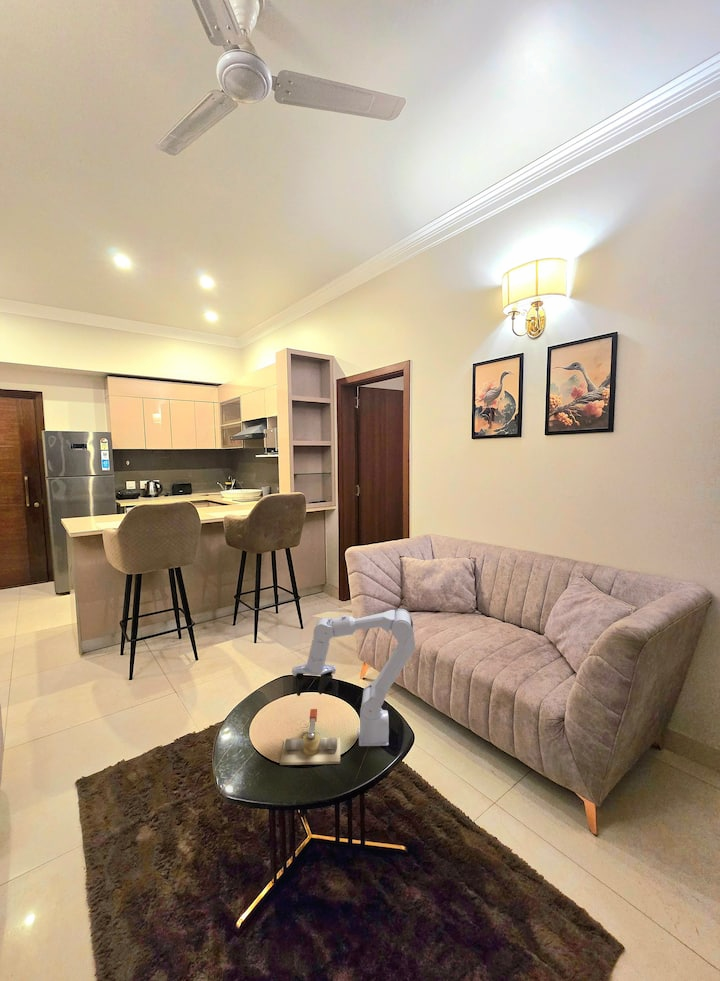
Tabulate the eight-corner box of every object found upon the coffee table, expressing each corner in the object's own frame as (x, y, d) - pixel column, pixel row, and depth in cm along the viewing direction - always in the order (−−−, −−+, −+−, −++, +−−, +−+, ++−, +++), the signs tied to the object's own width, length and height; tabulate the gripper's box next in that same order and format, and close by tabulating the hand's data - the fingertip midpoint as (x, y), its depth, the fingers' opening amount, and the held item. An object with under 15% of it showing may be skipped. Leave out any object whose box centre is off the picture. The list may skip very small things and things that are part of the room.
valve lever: (315, 739, 123) (315, 734, 123) (307, 740, 123) (307, 734, 123) (317, 714, 135) (317, 709, 135) (310, 714, 135) (310, 709, 135)
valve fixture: (340, 739, 130) (340, 726, 130) (340, 763, 120) (340, 748, 120) (284, 740, 129) (284, 726, 129) (279, 764, 119) (279, 749, 119)
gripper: (333, 648, 137) (325, 684, 139) (293, 649, 131) (284, 686, 133) (341, 660, 131) (332, 697, 133) (299, 661, 125) (290, 701, 126)
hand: (308, 693), depth 132 cm, fingers open, 7 cm apart
